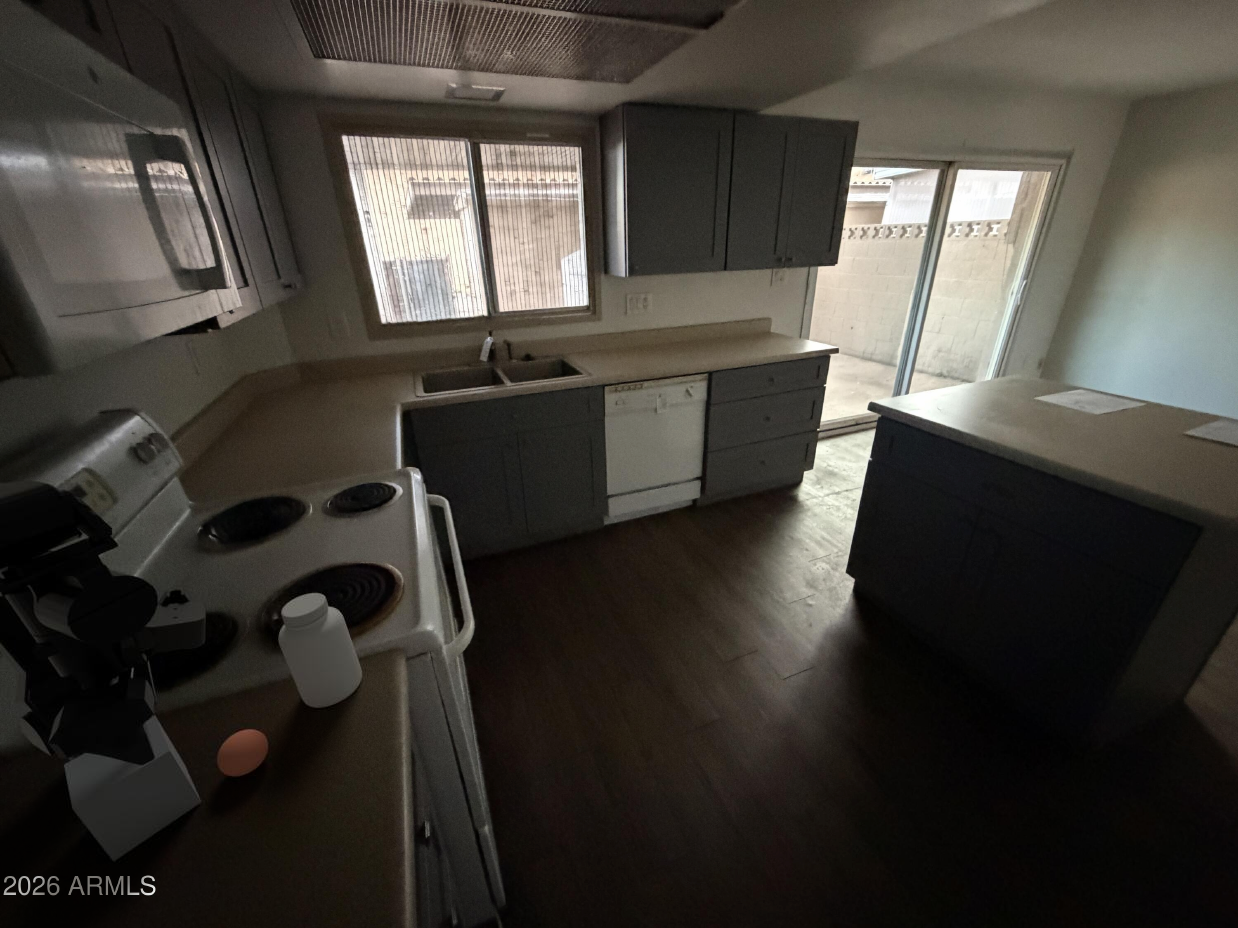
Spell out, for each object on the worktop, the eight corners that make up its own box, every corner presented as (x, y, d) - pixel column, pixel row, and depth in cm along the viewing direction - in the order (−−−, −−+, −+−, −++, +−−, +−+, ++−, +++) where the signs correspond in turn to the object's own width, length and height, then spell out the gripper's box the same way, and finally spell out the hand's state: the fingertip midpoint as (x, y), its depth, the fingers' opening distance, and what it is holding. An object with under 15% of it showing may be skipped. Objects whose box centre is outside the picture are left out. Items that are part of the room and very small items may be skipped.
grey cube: (102, 815, 57) (64, 764, 54) (184, 764, 63) (154, 715, 59) (113, 861, 53) (72, 808, 49) (201, 802, 58) (169, 750, 55)
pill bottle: (374, 666, 76) (347, 586, 70) (342, 710, 69) (309, 626, 63) (326, 664, 77) (295, 585, 71) (290, 708, 70) (252, 624, 64)
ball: (220, 769, 62) (205, 742, 60) (265, 740, 65) (252, 713, 63) (233, 794, 59) (217, 765, 57) (279, 761, 62) (266, 734, 60)
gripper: (183, 617, 45) (249, 739, 51) (180, 545, 58) (233, 648, 64) (2, 689, 38) (101, 819, 44) (46, 589, 52) (118, 699, 58)
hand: (150, 732), depth 53 cm, fingers open, 9 cm apart
